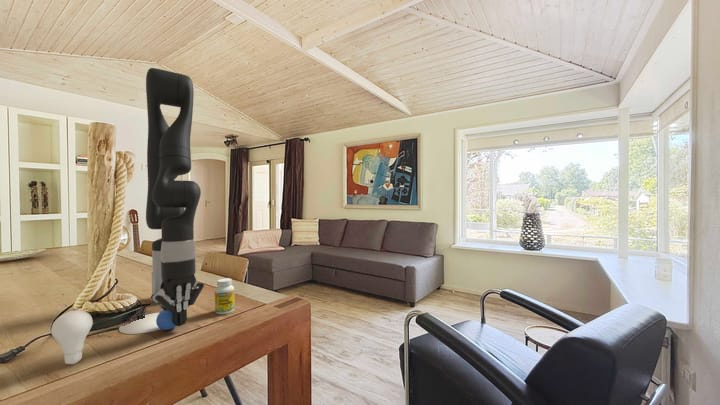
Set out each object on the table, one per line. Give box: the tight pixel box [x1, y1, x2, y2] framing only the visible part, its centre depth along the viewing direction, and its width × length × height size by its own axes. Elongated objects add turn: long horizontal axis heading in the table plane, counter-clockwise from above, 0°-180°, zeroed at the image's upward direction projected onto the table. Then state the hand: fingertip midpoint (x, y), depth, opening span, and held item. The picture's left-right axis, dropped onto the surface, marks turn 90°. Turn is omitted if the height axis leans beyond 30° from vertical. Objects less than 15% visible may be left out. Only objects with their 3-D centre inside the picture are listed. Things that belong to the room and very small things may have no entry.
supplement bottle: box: [214, 277, 236, 315], centre depth 88 cm, size 5×5×10 cm
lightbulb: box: [50, 309, 94, 366], centre depth 60 cm, size 6×6×11 cm
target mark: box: [118, 311, 161, 335], centre depth 81 cm, size 14×14×1 cm
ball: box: [156, 309, 177, 331], centre depth 76 cm, size 6×6×6 cm
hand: (179, 324), depth 75 cm, fingers closed
